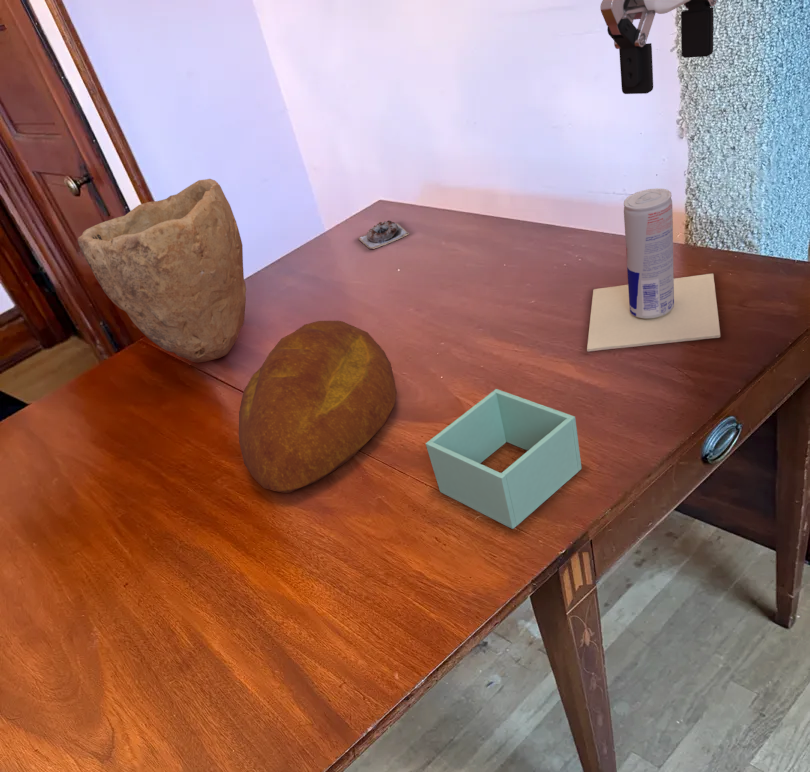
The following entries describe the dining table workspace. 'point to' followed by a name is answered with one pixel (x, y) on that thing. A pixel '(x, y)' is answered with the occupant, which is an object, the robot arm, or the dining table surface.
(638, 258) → the beverage can
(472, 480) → the open square box
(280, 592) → the dining table surface
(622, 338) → the mat
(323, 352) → the bread
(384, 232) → the rusty domed plate
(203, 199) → the bowl
